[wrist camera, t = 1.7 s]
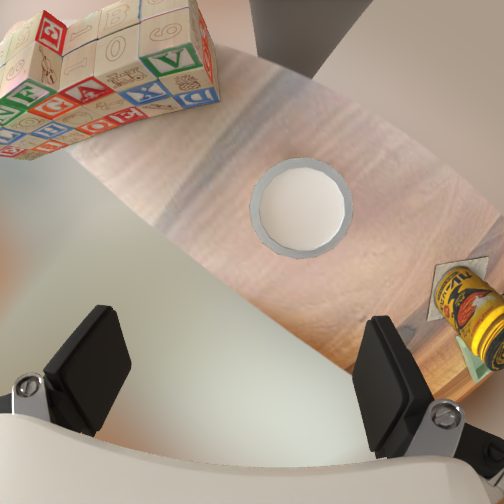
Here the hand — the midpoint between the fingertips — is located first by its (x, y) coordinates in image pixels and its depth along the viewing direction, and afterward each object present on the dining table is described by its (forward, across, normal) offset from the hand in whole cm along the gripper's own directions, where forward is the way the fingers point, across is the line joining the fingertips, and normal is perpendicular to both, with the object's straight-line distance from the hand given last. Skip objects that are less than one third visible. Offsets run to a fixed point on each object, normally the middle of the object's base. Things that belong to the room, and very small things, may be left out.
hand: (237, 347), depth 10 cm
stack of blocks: (+17, +14, -12) cm, 25 cm away
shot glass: (+17, -3, -2) cm, 18 cm away
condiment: (+17, -24, +7) cm, 30 cm away
